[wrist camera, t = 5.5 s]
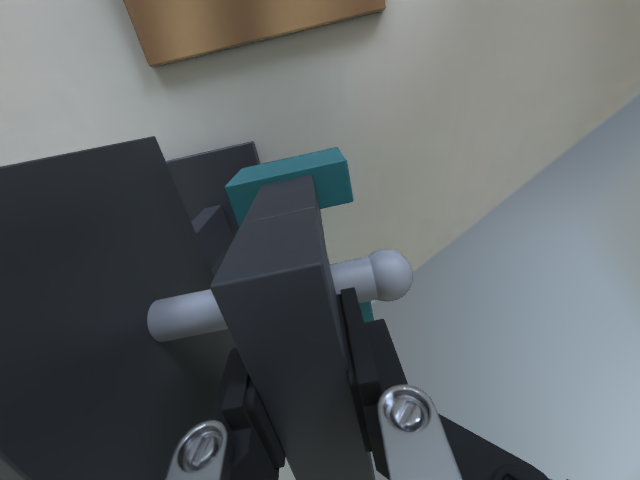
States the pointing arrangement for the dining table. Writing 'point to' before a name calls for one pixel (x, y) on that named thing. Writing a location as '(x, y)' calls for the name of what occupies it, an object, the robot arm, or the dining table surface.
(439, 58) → the dining table surface
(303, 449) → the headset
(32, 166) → the grey peg stand
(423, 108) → the dining table surface
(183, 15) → the desk pad
